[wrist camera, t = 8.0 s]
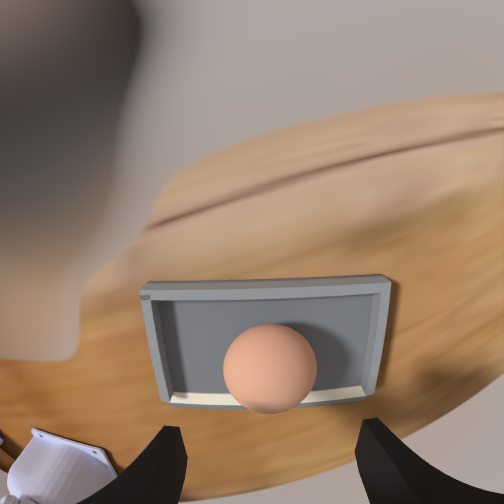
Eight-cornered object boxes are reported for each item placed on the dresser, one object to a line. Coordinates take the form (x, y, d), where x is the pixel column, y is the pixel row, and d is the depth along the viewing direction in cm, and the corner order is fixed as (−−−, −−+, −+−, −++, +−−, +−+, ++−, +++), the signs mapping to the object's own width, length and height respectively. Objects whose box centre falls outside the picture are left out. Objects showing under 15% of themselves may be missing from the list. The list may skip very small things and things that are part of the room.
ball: (228, 380, 19) (224, 434, 14) (223, 310, 18) (215, 355, 13) (306, 376, 19) (321, 428, 14) (309, 307, 18) (330, 348, 13)
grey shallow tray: (170, 403, 20) (165, 417, 18) (148, 281, 18) (139, 290, 16) (363, 396, 19) (369, 410, 18) (381, 274, 17) (391, 282, 16)
